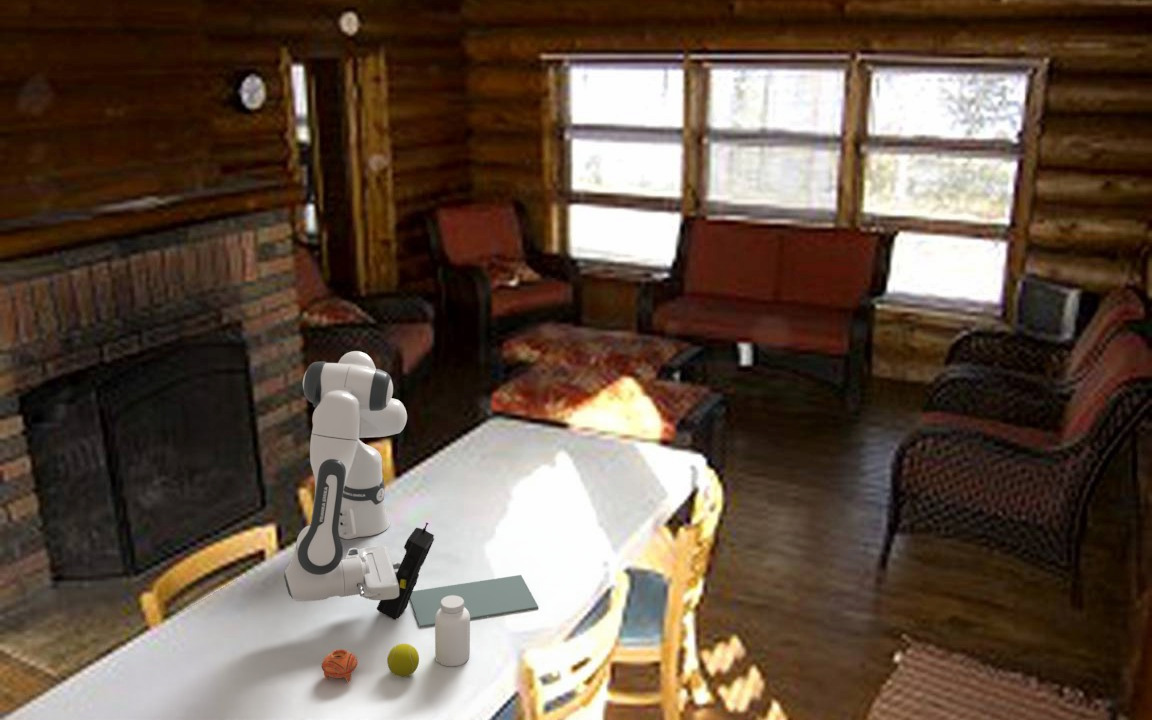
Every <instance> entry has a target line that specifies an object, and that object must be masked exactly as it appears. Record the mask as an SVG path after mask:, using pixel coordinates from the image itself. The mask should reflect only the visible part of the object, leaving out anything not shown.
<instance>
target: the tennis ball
mask: <svg viewBox="0 0 1152 720" xmlns="http://www.w3.org/2000/svg"><path fill="white" fill-rule="evenodd" d="M386 660H387V661H386V662H387V667H388V669H389V671H390V672H391V673H392V674H393V676H396V677H399V678H406V677H408V676H412V674H414V673H415V671H417V669H418V666H419V662H420V657H419V652H418V651H417V649H416V647H414V646H413V645H412V644H408V643H399V644H397V645H395V646H393V647H392V648H391V650H390V651H389V653H388V656H387V659H386Z"/></svg>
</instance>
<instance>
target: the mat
mask: <svg viewBox="0 0 1152 720" xmlns="http://www.w3.org/2000/svg"><path fill="white" fill-rule="evenodd" d="M451 595H455V596H459V597H461V598H462V599H463V600H464V607H465V608H466V609H467V610H468V612H469V614H470V619H471V620H476V619H475V618H478V619H481V618H480V617H484V618H489V617H490V618H491V617H494V616H495V617H496V616H501V615H508V614H513V613H518V612H519V613H520V612H525V611H533V610H537V609H539V605H538V603H537V601H536V599H535V598H534V595H533V594H532V592H531V590H530V588H529V587H528V585H527V583H526V582H525V580H524V577H523V576H522V574H519V575H512V576H505V577H498V578H492V579H485V580H478V581H472V582H465V583H458V584H452V585H445V586H444V585H443V586H440V587H431V588H425V589H417V590H413V591H412V594H411V597H410V599H409V601H410V603H411V606H412V609H413V611H414V614H415V618H416V621H417V624H418V626H419V628H420V629H421V628H427V627H428V628H429V627H433V626H434V627H435V616H436V613H437V611H438V610H439V609H440V608H441V600H442V599H443V598H444V597H446V596H451ZM487 616H489V617H487Z"/></svg>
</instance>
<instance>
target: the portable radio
mask: <svg viewBox="0 0 1152 720" xmlns="http://www.w3.org/2000/svg"><path fill="white" fill-rule="evenodd" d="M428 525H429V523H428V522H425V526H424V527H423V528H420V527H415V529H414V530H413V531H412V533H411V534H410V536H408V538H407V540H406V542H405V544H404V546H403V548H404V551H405V554H404V556H403V558H402V560H401V562H402V563H401V565H400V567H399V569H398V572H397V574H396V577H397V580H398V584H399V596H398V597H397V598H395V599H388V600H379V602H378V604H377V607H376V610H377V611H378V612H379V613H380V614H382V615H385V616H386V617H387V618H388V617H389V618H390V619H392V620H394V621H396V620H398V619H400V618H401V617H402V615H403V613H404V611H405V610H406V609H407V607H408V604H409V603H410V597H411V594H412V591H414V588H415V586H416V585H417V582H418V579H419V575H420V574H419V573H420V571H421V567H422V566H423V565H424V563H425V560H426V558H427V556H428V554H429V552H430V549H431V548H432V545H433V543H434V541H435V538H434V536H435V535H434V534H433V533H431V532H429V531H427V527H428Z"/></svg>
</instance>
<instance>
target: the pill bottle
mask: <svg viewBox="0 0 1152 720" xmlns="http://www.w3.org/2000/svg"><path fill="white" fill-rule="evenodd" d="M434 631H435V632H434V634H435V635H434V639H435V640H434V641H435V644H434V645H435V647H434V648H435V649H434V651H435V659H436V661H437V663H439V665H442V666H445V667H458V666H462V665H464V664H465V663H467V662H468V660H469V658H470V655H471V653H470V652H471V620H470V614H469V612H468V610H467V609H466V608H465V607H464V600H463V599H462V598H461V597H459V596H455V595H451V596H446V597H444V598H443V599H442V600H441V608H440V609H439V610H438V611H437V613H436V616H435V625H434Z"/></svg>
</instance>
